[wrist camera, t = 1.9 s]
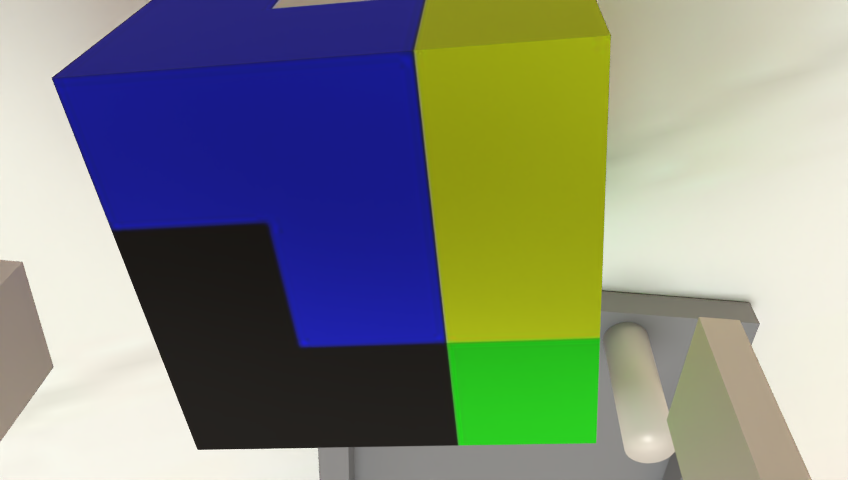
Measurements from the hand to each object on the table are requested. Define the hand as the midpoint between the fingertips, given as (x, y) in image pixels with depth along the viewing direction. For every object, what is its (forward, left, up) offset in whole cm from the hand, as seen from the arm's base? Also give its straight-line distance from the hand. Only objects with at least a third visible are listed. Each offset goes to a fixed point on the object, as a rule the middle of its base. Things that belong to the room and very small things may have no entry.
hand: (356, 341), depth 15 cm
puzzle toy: (0, 0, -12) cm, 12 cm away
